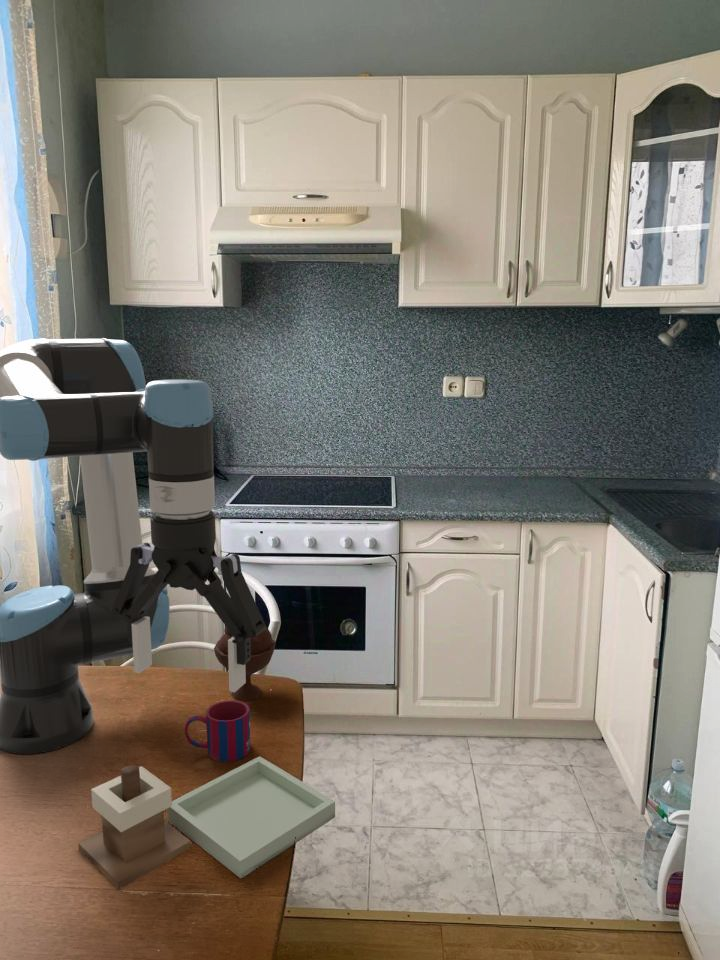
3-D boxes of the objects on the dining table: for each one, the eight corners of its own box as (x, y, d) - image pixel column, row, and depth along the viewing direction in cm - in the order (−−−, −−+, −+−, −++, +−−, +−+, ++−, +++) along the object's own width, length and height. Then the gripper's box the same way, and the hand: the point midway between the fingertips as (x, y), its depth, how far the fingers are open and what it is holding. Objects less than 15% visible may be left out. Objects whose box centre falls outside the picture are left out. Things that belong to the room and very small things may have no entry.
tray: (167, 820, 100) (166, 804, 99) (259, 770, 111) (259, 756, 111) (240, 878, 89) (240, 861, 89) (335, 817, 101) (335, 801, 100)
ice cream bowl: (210, 707, 130) (207, 627, 127) (224, 679, 141) (221, 604, 138) (270, 709, 130) (268, 628, 127) (279, 680, 141) (278, 605, 138)
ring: (92, 807, 93) (91, 789, 92) (142, 783, 98) (141, 766, 97) (121, 832, 88) (119, 813, 88) (171, 805, 93) (171, 787, 93)
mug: (250, 760, 114) (248, 720, 113) (183, 765, 113) (181, 723, 111) (251, 738, 120) (250, 699, 119) (188, 741, 119) (186, 702, 118)
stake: (78, 849, 94) (72, 771, 92) (148, 813, 101) (144, 740, 99) (118, 889, 87) (113, 805, 85) (190, 847, 94) (187, 769, 92)
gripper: (75, 508, 89) (86, 673, 93) (262, 530, 80) (265, 710, 84) (116, 496, 95) (124, 650, 100) (292, 514, 87) (293, 681, 91)
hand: (189, 677), depth 92 cm, fingers open, 13 cm apart
